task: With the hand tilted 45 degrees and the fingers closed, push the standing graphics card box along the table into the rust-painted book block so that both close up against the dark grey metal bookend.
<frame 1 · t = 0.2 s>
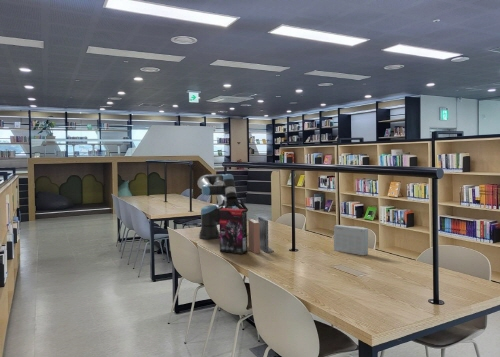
hand: (235, 221, 270), 16 cm above the table, tool tilted 35°, fingers open, 13 cm apart
bookend: (263, 249, 255), on the table
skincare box: (350, 252, 245), on the table
book: (254, 250, 253), on the table
graphics card box: (233, 252, 249), on the table
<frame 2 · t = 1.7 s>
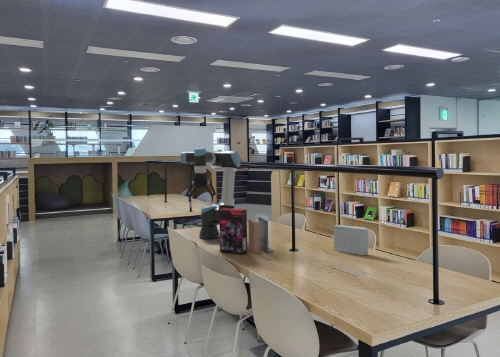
hand: (201, 206, 252), 28 cm above the table, tool pointing down, fingers open, 12 cm apart
nothing on the table moved.
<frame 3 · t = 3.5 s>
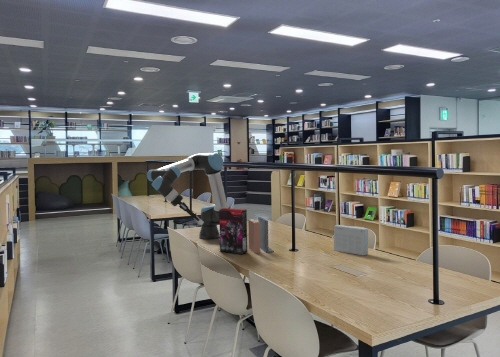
hand: (202, 223, 243), 19 cm above the table, tool tilted 45°, fingers closed
nothing on the table moved.
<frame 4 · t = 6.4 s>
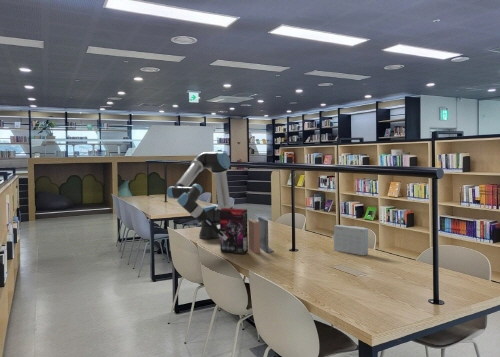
hand: (226, 238, 247), 9 cm above the table, tool tilted 45°, fingers closed
graphics card box: (234, 252, 250), on the table, touching gripper
everything else where it was.
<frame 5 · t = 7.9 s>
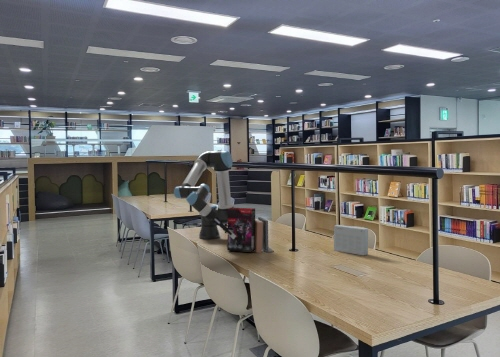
hand: (234, 237, 249), 9 cm above the table, tool tilted 45°, fingers closed
book: (256, 250, 253), on the table
graphics card box: (240, 251, 251), on the table, touching gripper
everything else where it was.
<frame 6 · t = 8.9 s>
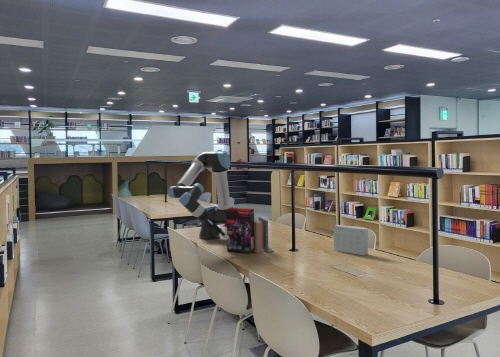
hand: (227, 238, 248), 9 cm above the table, tool tilted 45°, fingers closed
graphics card box: (240, 251, 251), on the table
everything else where it was.
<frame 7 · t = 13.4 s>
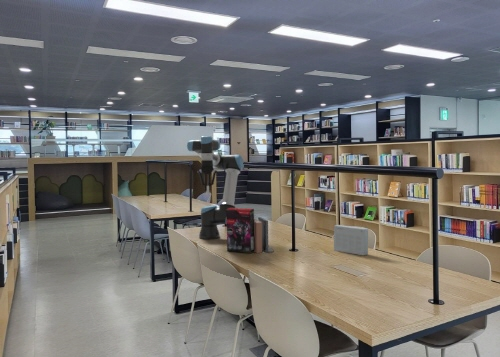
hand: (207, 195, 261), 34 cm above the table, tool pointing down, fingers closed
nothing on the table moved.
at the end: graphics card box moved 4.8 cm from its start; book 4.7 cm from the bookend (horizontally); graphics card box tilted 0° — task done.
